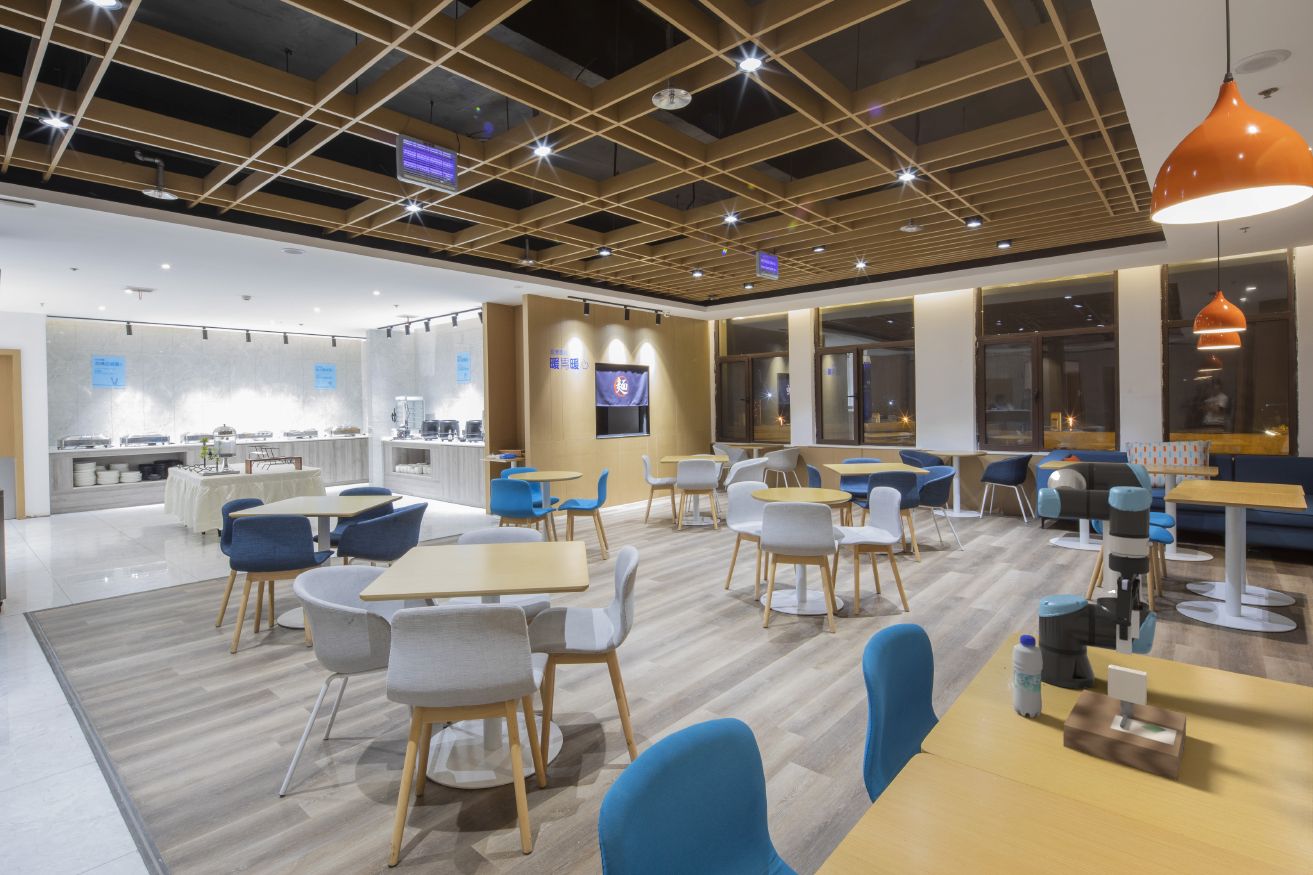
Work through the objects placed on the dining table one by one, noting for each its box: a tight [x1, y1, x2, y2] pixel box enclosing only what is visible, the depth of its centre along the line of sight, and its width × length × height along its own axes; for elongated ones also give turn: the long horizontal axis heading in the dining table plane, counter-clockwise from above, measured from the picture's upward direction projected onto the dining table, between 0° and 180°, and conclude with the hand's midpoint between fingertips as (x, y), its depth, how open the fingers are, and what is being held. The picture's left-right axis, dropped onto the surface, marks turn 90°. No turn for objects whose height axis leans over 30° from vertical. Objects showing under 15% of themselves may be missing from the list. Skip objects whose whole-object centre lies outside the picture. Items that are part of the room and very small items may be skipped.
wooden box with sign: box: [1062, 689, 1187, 781], centre depth 144 cm, size 20×24×5 cm
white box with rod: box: [1107, 664, 1148, 728], centre depth 142 cm, size 7×9×11 cm
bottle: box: [1011, 634, 1043, 718], centre depth 157 cm, size 7×7×20 cm
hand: (1128, 644), depth 144 cm, fingers open, 13 cm apart
